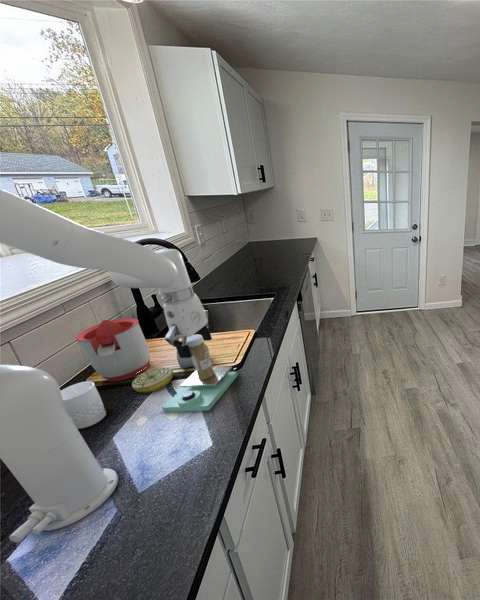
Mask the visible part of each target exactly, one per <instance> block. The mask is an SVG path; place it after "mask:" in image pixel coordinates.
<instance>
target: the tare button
mask: <svg viewBox="0 0 480 600" xmlns="http://www.w3.org/2000/svg"><path fill="white" fill-rule="evenodd" d="M194 396H195V395H194V393H193V391H188V392H186V393H184V394H183V399H184V400H185V401H187V400H190V399H192V398H194Z"/></svg>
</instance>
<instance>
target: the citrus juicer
mask: <svg viewBox="0 0 480 600" xmlns="http://www.w3.org/2000/svg"><path fill="white" fill-rule="evenodd" d="M139 321H140V320H139V319H138V318H135V317H124V318H117V319H112V320H109V319H103V320H102V321H101V322H100V323H98V324H95V325H92V326H90V327H88V328H86V329H83V330H81V331H80V332H79V333H78V334H77V335H76V336H75V340H76V341H78V343H79V345H80V347H81V349H82V351H83V352H84V354H85V357H86V358H87V360H88V362H89V364H90V365H91V367H92V368H93V369H94V371H96V372H97V373H98V374H99V375H100V376H101V377H102V378H103V379H105V380H106V379H107V381H109V382H119V381H123V380H124V381H125V380H127V379H130V378H133V377H135V376H139V375H140V374H142V373H144V372H145V370H147V369H148V367H150V362H151V361H150V360H151V358H150V348H149V345H148V342H147V339H146V338H145V335H144V333H143V331H142V328H141V326H140V323H139ZM148 364H149V365H148ZM145 367H146V368H145ZM144 368H145V369H144ZM143 369H144V370H143ZM141 370H142V371H141ZM139 371H140V372H139ZM137 372H139V373H137ZM136 373H137V374H136Z"/></svg>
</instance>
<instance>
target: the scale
mask: <svg viewBox="0 0 480 600" xmlns="http://www.w3.org/2000/svg"><path fill="white" fill-rule="evenodd" d="M237 377H238V372H237V371H229V372H228V374H227V375H226V376H225V377H224V378H223V379H222V380H221V381H220V383H219V384H218V385H217V386H198V387H181V388H180V389H179V391H178V392H176V393H175V394H174V396H173V397H171V398H170V399H169V400H168V401H167V402H166V404H164V405H163V406H162V410H163V413H173V412H174V413H175V412H177V413H179V412H203V411H204V412H206V411H210V410H211V409H212V408H213V407H214V405H215V404H216V403H217V402H218V401H219V399H220V398H221V397H222V396H223V394H224V393H225V392H226V391H227V390H228V388H229V387H230V386H231V385H232V384H233V382H234V381H235V380H236V378H237ZM188 391H193V393H194V395H195V396H194V398H192V399H190V400H187V401H185V400H184V399H183V394H184V393H186V392H188Z"/></svg>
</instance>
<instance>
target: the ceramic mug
mask: <svg viewBox="0 0 480 600" xmlns="http://www.w3.org/2000/svg"><path fill="white" fill-rule="evenodd" d="M204 345H205V347H206V350H207V353H208V355H209V356H210V352H209V346H208V345H207V343H204ZM176 360H177V364H178V367H180V368H181V369H186V368H191V367H194V364H193V362H192V359H191V358H180V356H179V354H178V351H177V350H176Z"/></svg>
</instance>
